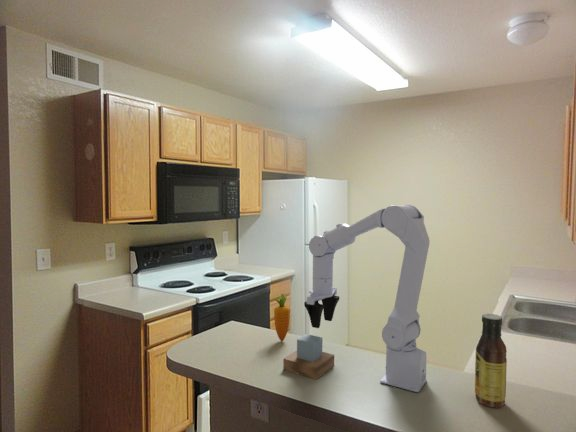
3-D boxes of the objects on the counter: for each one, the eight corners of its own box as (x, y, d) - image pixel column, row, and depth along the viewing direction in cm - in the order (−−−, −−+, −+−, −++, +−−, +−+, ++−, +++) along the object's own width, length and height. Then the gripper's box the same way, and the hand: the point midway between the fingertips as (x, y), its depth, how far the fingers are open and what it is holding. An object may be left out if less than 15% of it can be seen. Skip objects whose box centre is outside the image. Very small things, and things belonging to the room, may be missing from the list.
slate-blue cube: (322, 355, 109) (322, 337, 109) (313, 362, 105) (313, 343, 104) (306, 351, 111) (306, 334, 111) (296, 357, 107) (297, 339, 107)
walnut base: (334, 365, 110) (334, 354, 110) (316, 379, 101) (316, 367, 101) (302, 357, 115) (302, 346, 115) (283, 369, 107) (283, 358, 107)
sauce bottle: (478, 392, 95) (481, 309, 94) (508, 401, 91) (511, 314, 90) (470, 403, 90) (473, 316, 89) (501, 413, 86) (504, 321, 85)
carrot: (283, 345, 124) (283, 297, 123) (270, 341, 127) (271, 295, 126) (292, 340, 128) (293, 294, 127) (280, 337, 131) (280, 292, 130)
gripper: (322, 271, 123) (321, 315, 124) (297, 279, 111) (297, 328, 112) (343, 274, 120) (342, 319, 120) (319, 282, 107) (319, 332, 108)
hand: (322, 323), depth 116 cm, fingers open, 7 cm apart
